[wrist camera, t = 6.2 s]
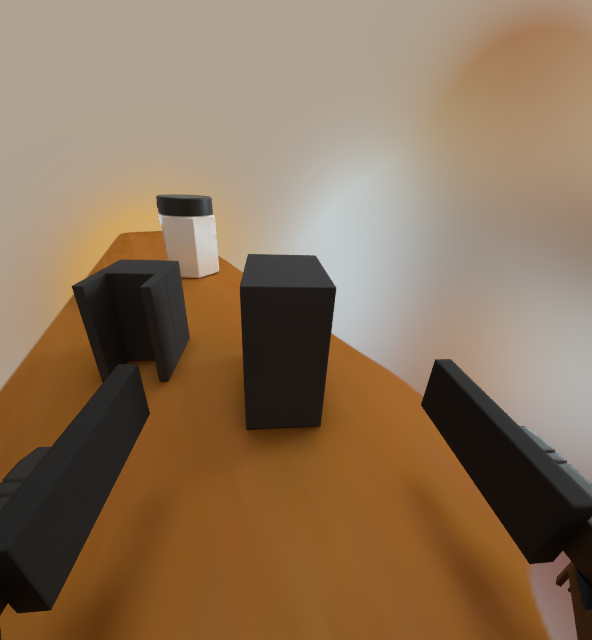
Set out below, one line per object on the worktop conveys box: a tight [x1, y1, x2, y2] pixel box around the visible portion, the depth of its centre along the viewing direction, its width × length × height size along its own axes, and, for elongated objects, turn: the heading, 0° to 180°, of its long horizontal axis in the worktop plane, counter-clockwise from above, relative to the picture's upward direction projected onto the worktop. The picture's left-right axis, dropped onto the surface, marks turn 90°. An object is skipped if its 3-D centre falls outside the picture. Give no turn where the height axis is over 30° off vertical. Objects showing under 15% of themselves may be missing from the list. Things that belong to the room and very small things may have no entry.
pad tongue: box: [240, 254, 336, 429], centre depth 21 cm, size 10×5×10 cm, turn 5°
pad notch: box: [72, 260, 189, 382], centre depth 24 cm, size 7×5×8 cm
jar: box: [156, 195, 219, 278], centre depth 47 cm, size 9×8×12 cm
